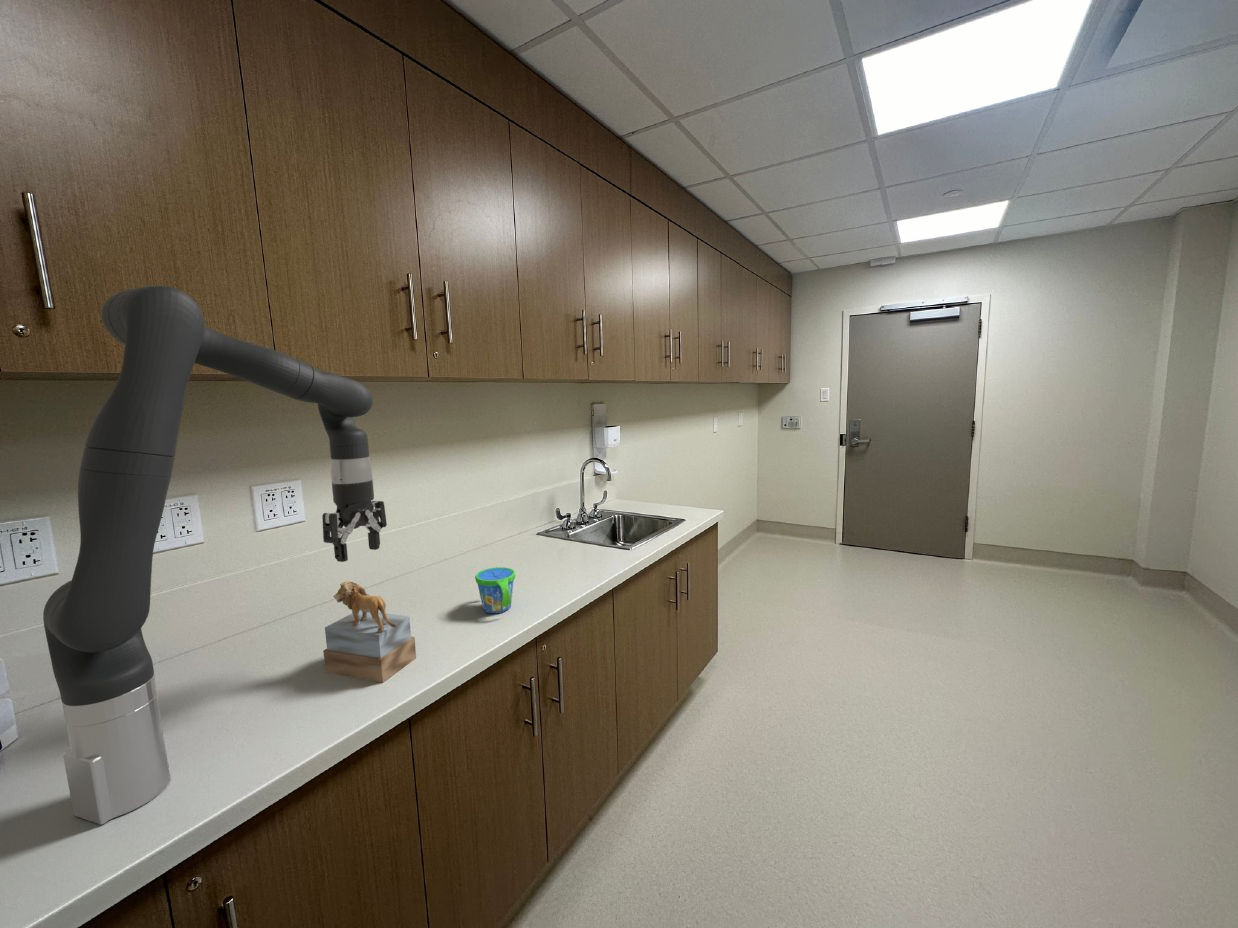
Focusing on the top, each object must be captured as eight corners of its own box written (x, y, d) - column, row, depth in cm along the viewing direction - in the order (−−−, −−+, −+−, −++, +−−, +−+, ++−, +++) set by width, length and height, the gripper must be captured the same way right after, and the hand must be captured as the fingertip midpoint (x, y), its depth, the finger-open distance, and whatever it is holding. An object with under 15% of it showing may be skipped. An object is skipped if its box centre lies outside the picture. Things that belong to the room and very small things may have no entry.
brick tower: (383, 682, 100) (378, 636, 99) (325, 672, 104) (320, 628, 103) (416, 657, 110) (412, 615, 108) (362, 649, 114) (358, 608, 113)
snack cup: (524, 615, 131) (522, 578, 129) (484, 624, 126) (482, 586, 125) (508, 595, 144) (506, 562, 143) (472, 602, 140) (469, 568, 138)
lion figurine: (332, 625, 104) (328, 585, 103) (353, 615, 109) (349, 576, 108) (387, 634, 100) (384, 592, 98) (406, 623, 105) (403, 583, 103)
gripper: (338, 485, 94) (345, 567, 96) (392, 474, 107) (397, 546, 109) (307, 484, 96) (315, 564, 98) (364, 474, 110) (370, 544, 112)
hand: (359, 554), depth 104 cm, fingers open, 8 cm apart
